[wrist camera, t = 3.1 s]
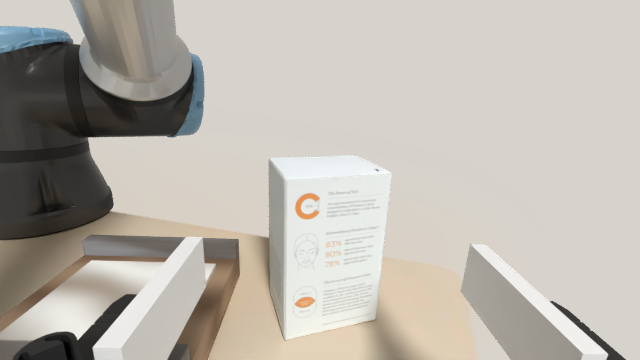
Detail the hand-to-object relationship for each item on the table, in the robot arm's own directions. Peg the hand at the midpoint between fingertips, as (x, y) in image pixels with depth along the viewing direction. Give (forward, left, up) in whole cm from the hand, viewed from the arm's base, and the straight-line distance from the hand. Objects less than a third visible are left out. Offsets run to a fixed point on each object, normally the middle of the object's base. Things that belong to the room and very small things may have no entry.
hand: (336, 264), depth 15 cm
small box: (-10, 0, -10) cm, 14 cm away
